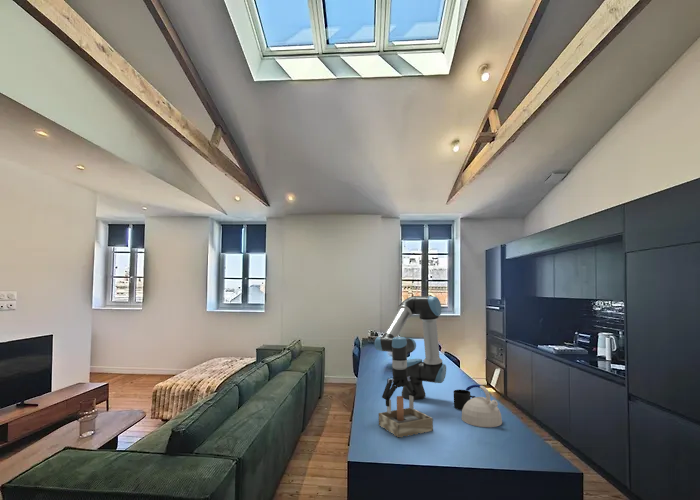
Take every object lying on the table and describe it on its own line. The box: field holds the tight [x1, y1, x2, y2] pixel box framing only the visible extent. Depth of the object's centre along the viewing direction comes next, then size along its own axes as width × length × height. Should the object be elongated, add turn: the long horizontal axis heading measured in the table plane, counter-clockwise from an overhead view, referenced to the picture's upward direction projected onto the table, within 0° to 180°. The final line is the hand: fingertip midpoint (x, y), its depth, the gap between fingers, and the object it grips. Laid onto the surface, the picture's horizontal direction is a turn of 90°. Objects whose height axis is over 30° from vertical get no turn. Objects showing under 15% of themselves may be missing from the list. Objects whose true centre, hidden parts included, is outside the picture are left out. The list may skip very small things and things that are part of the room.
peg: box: [396, 395, 405, 421], centre depth 193 cm, size 3×3×14 cm
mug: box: [453, 389, 475, 411], centre depth 221 cm, size 9×12×9 cm
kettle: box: [461, 384, 503, 428], centre depth 200 cm, size 20×21×18 cm
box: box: [378, 407, 434, 438], centre depth 189 cm, size 18×20×6 cm
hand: (400, 410), depth 193 cm, fingers open, 13 cm apart
